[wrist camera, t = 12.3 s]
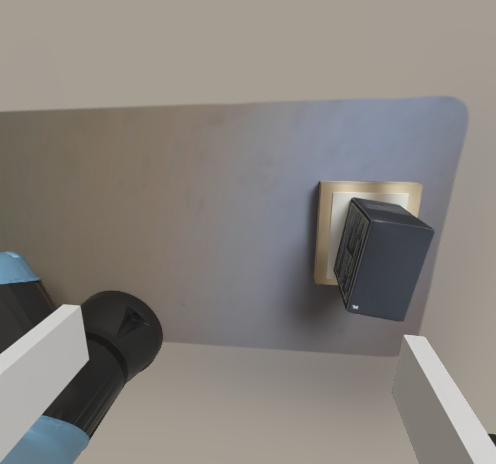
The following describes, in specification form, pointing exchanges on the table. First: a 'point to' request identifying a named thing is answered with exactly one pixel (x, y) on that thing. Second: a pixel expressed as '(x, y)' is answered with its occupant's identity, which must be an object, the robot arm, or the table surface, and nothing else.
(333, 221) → the beech picture frame
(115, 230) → the table surface
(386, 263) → the small box
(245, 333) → the table surface
